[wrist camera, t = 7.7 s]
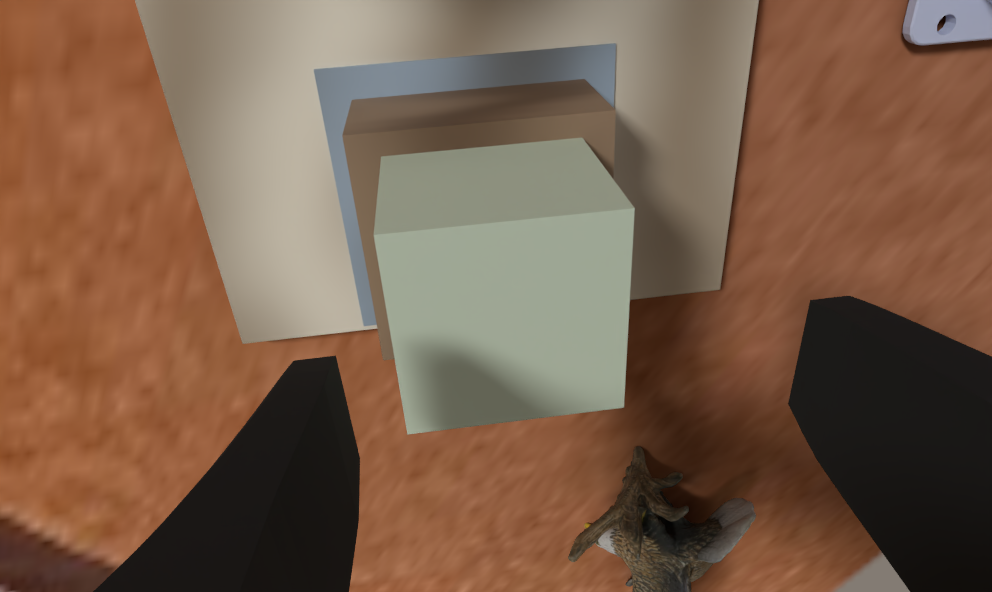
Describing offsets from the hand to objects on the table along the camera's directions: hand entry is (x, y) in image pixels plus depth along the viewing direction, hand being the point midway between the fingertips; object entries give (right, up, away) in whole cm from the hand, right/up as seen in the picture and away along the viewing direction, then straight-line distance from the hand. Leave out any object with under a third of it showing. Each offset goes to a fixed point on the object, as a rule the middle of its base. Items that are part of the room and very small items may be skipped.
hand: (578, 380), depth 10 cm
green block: (-1, +3, +6) cm, 6 cm away
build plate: (-2, +6, +8) cm, 10 cm away
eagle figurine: (+5, -8, +18) cm, 20 cm away
